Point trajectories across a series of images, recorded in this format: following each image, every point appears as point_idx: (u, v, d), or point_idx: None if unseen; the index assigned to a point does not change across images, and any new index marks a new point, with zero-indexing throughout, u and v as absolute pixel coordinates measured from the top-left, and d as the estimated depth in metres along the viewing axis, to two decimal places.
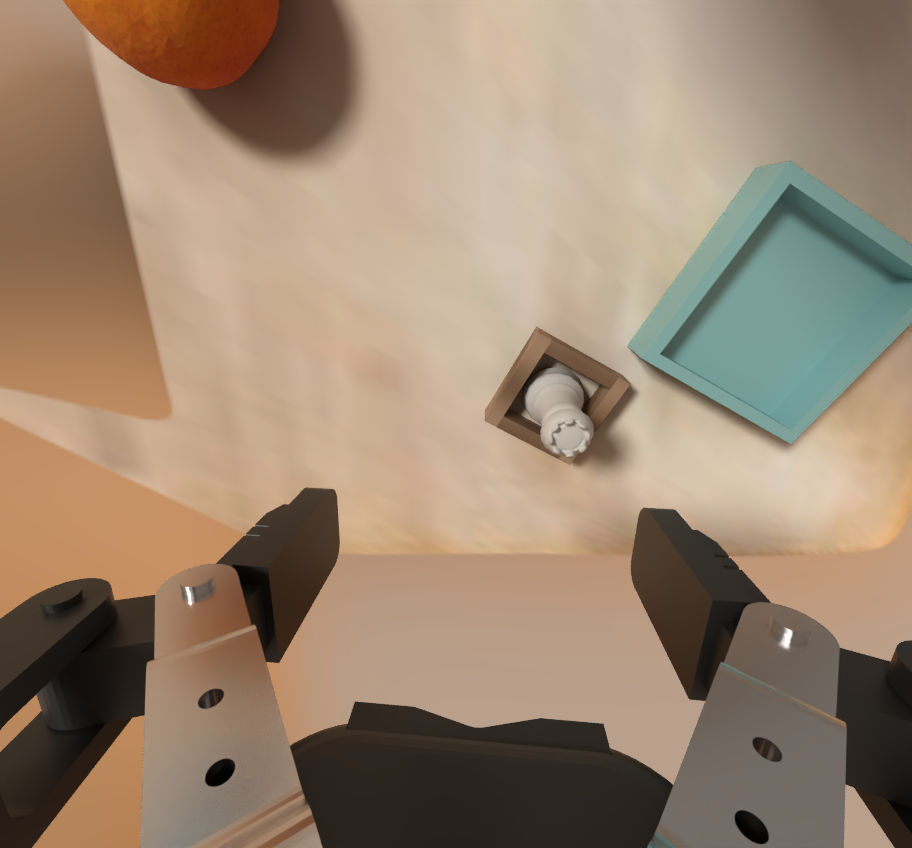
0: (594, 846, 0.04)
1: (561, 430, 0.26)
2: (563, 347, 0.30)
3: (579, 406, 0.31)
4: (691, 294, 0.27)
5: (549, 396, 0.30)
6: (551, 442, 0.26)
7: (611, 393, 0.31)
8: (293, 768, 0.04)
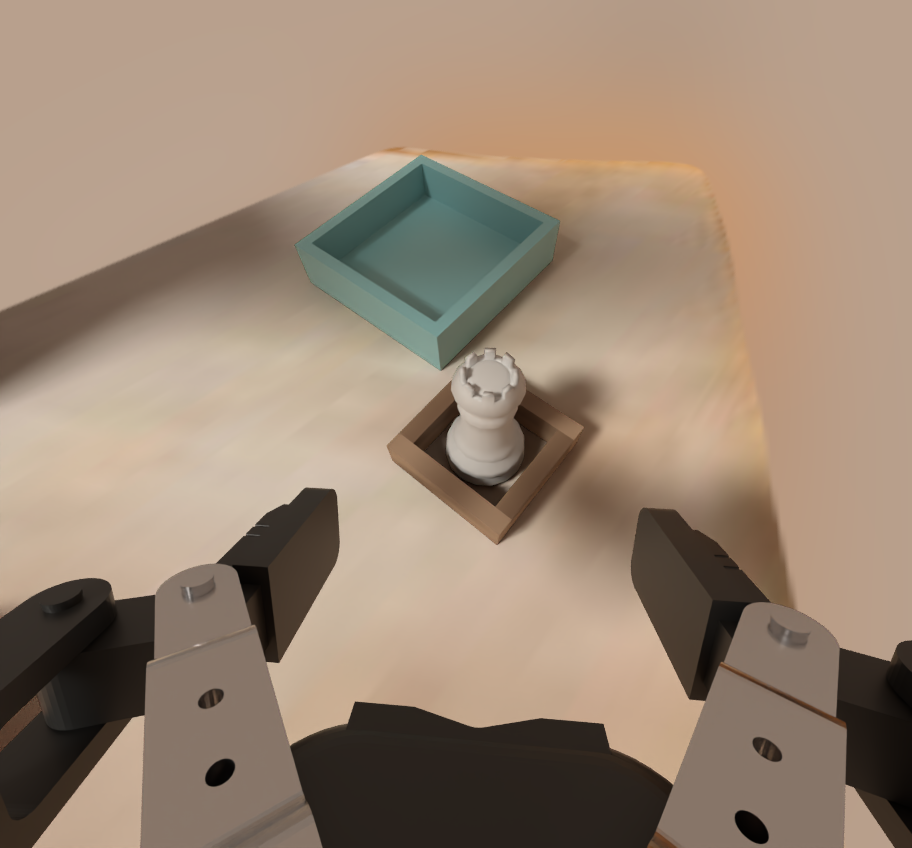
0: (594, 846, 0.04)
1: (476, 383, 0.18)
2: (412, 421, 0.24)
3: None
4: (379, 299, 0.26)
5: (462, 432, 0.22)
6: (489, 394, 0.18)
7: None
8: (293, 768, 0.04)
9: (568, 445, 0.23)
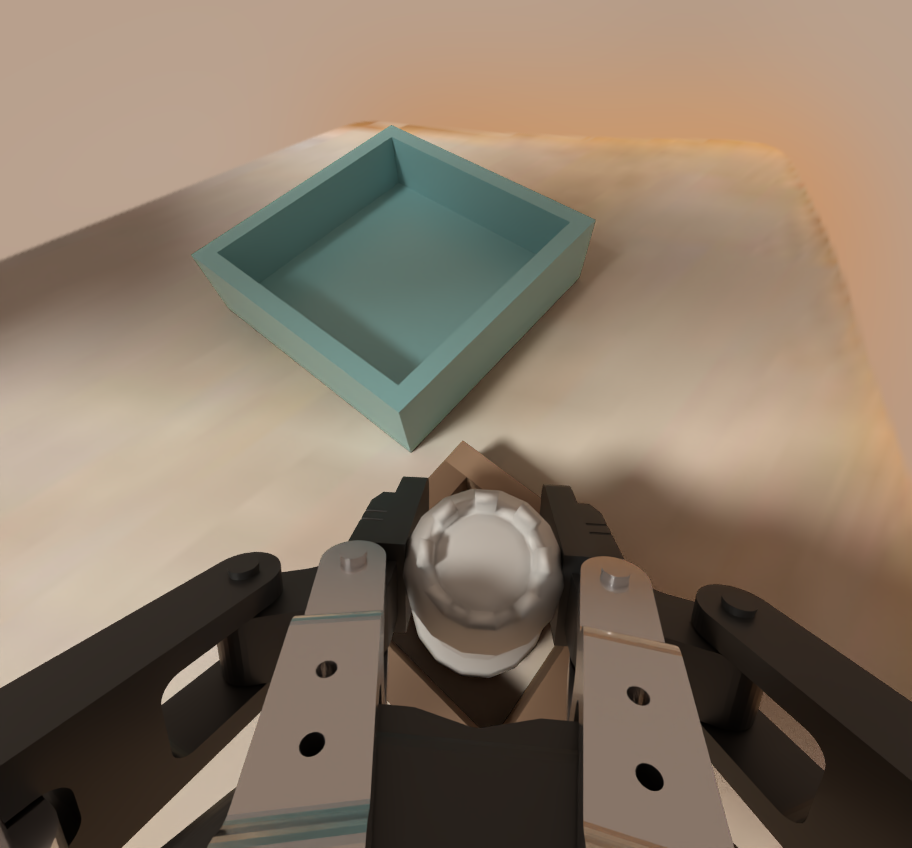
0: None
1: (456, 578, 0.08)
2: None
3: None
4: (310, 344, 0.17)
5: None
6: (485, 619, 0.08)
7: (475, 475, 0.15)
8: (369, 771, 0.04)
9: None
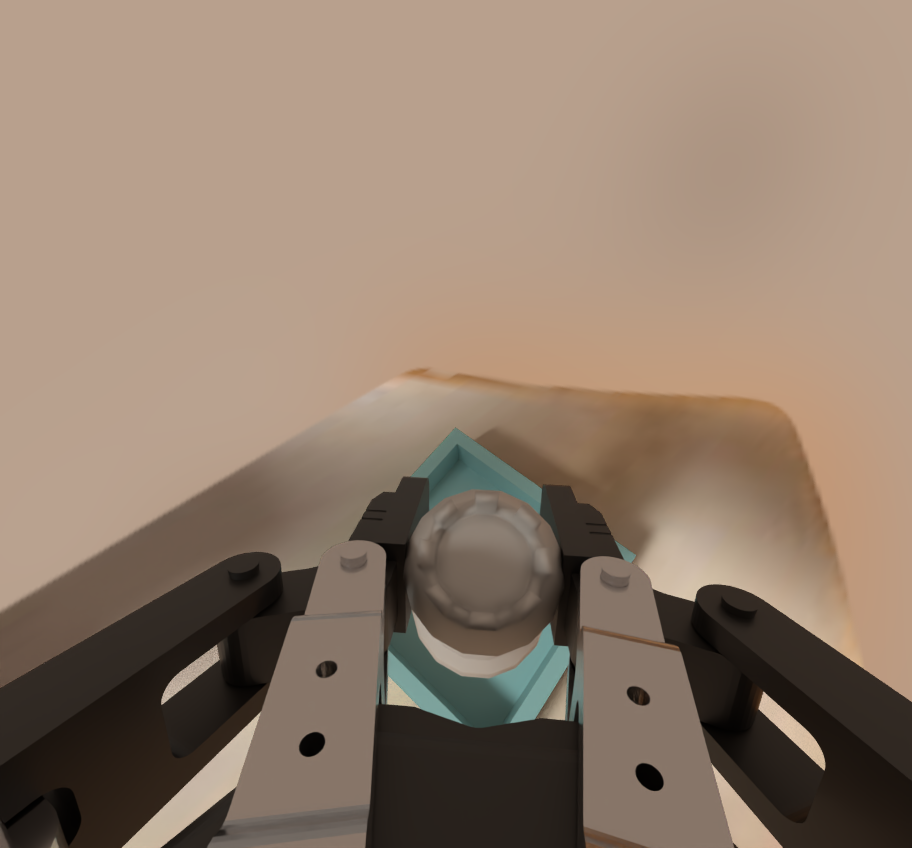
0: None
1: (456, 579, 0.08)
2: None
3: None
4: (417, 703, 0.21)
5: None
6: (485, 619, 0.08)
7: None
8: (369, 771, 0.04)
9: None
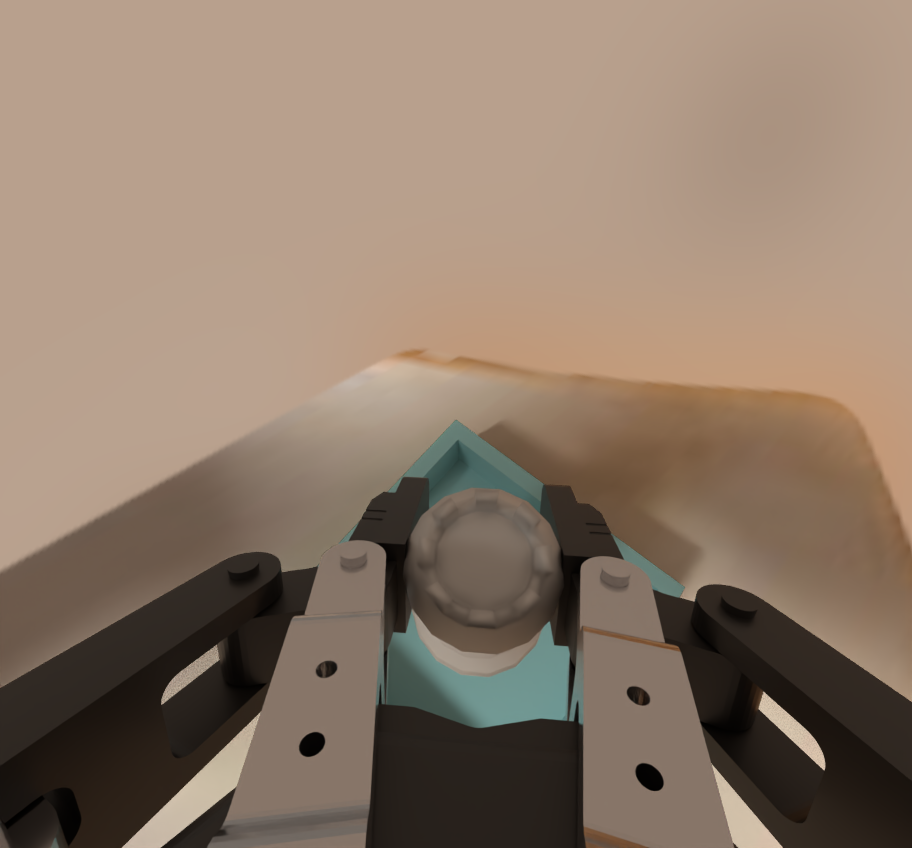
0: None
1: (456, 577, 0.08)
2: None
3: None
4: None
5: None
6: (485, 617, 0.08)
7: None
8: (369, 771, 0.04)
9: None
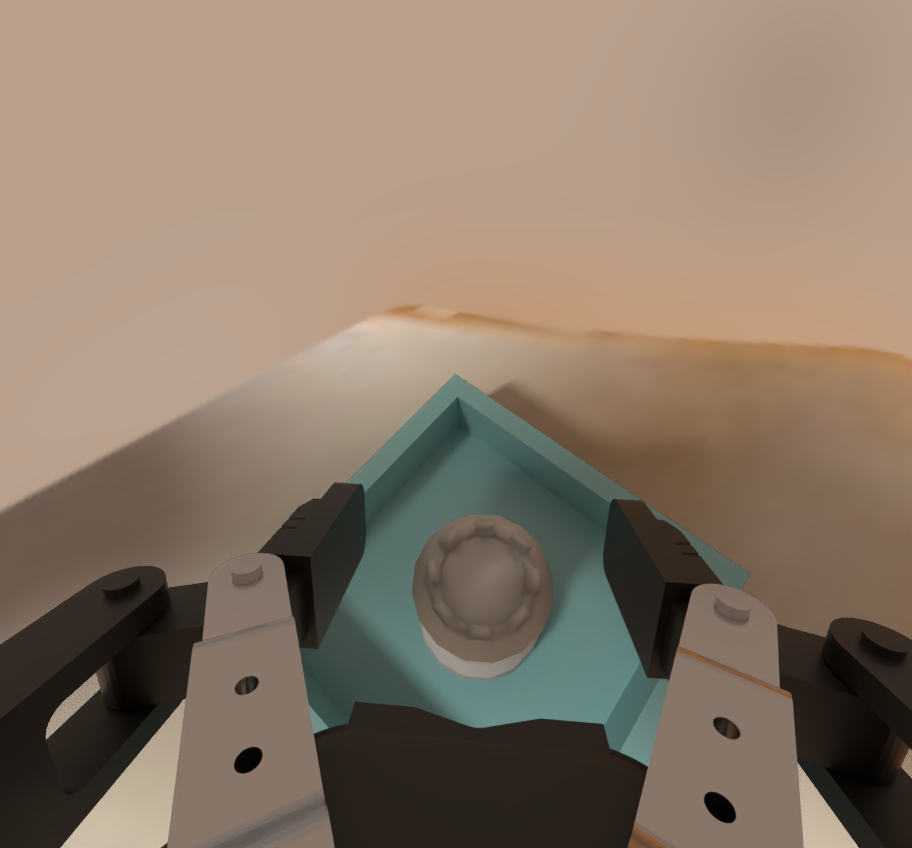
0: (594, 846, 0.04)
1: (458, 595, 0.09)
2: None
3: None
4: None
5: None
6: (483, 631, 0.09)
7: None
8: (316, 765, 0.04)
9: None
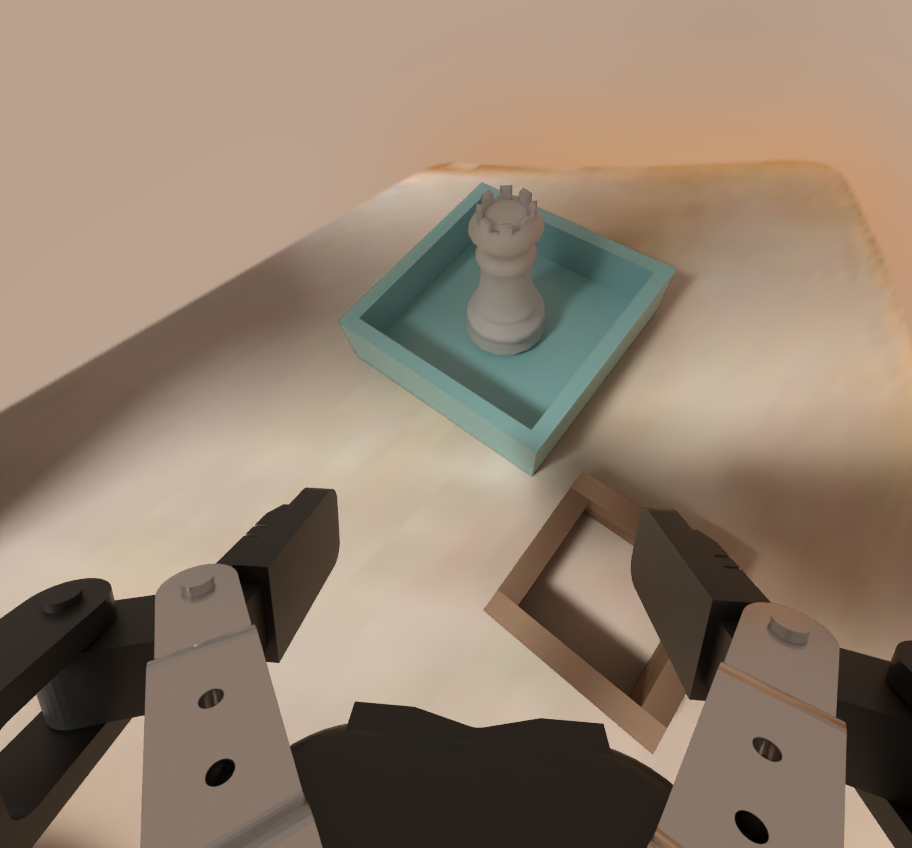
0: (594, 846, 0.04)
1: (493, 220, 0.18)
2: (512, 571, 0.18)
3: None
4: (454, 397, 0.21)
5: (481, 293, 0.22)
6: (507, 225, 0.17)
7: (597, 498, 0.19)
8: (293, 768, 0.04)
9: None
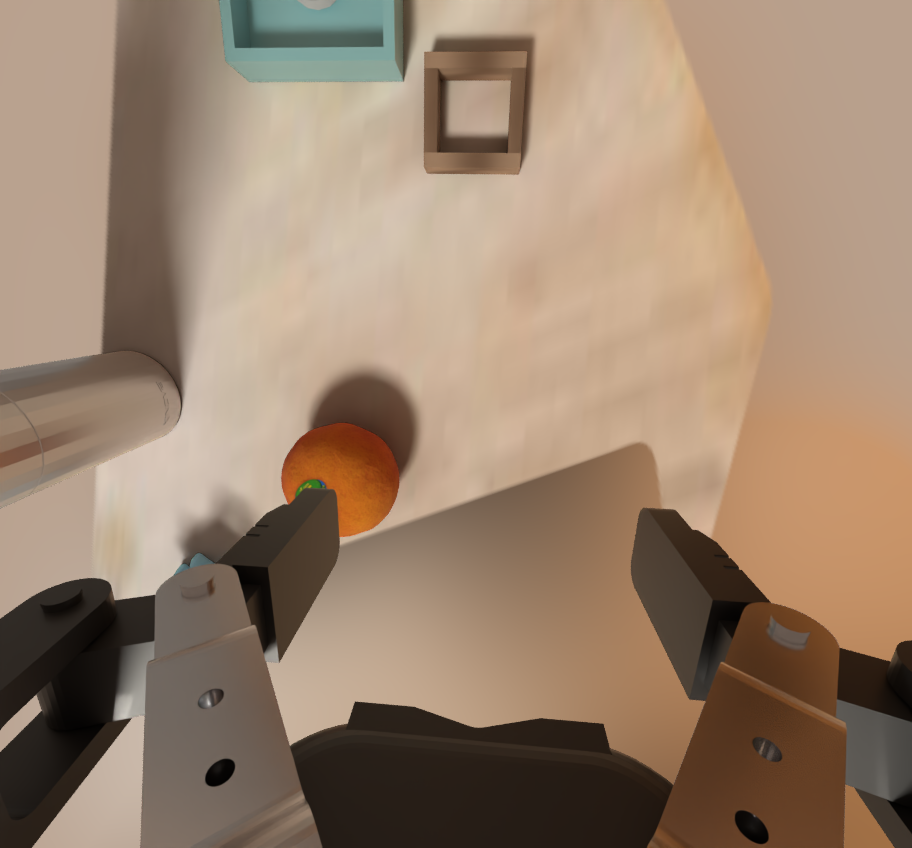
0: (594, 846, 0.04)
1: None
2: (424, 138, 0.34)
3: None
4: (331, 59, 0.32)
5: None
6: None
7: (440, 63, 0.32)
8: (293, 768, 0.04)
9: (525, 74, 0.32)
